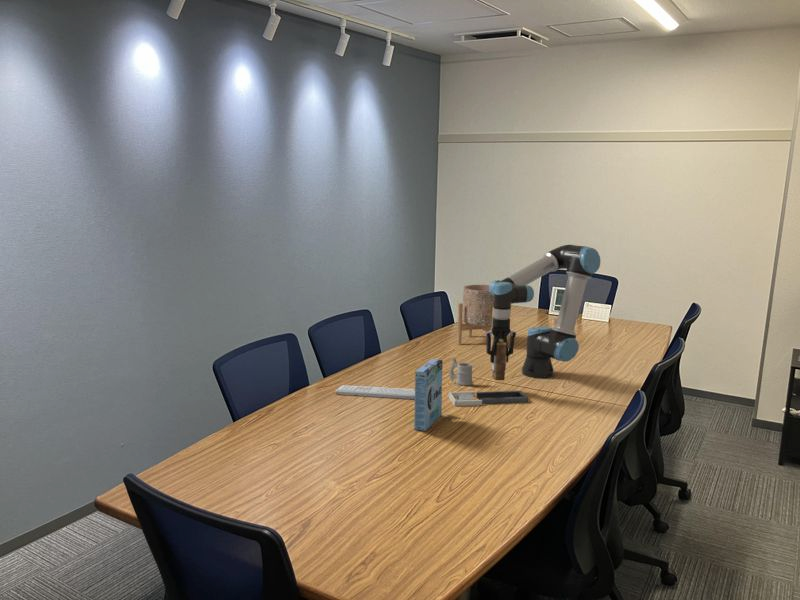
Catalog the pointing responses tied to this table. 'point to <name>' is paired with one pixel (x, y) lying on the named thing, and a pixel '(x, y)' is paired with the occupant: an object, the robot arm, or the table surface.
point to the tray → (463, 402)
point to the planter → (475, 311)
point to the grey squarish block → (461, 396)
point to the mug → (462, 373)
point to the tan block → (500, 361)
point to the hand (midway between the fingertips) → (498, 369)
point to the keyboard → (377, 392)
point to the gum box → (428, 394)
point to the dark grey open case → (502, 397)
